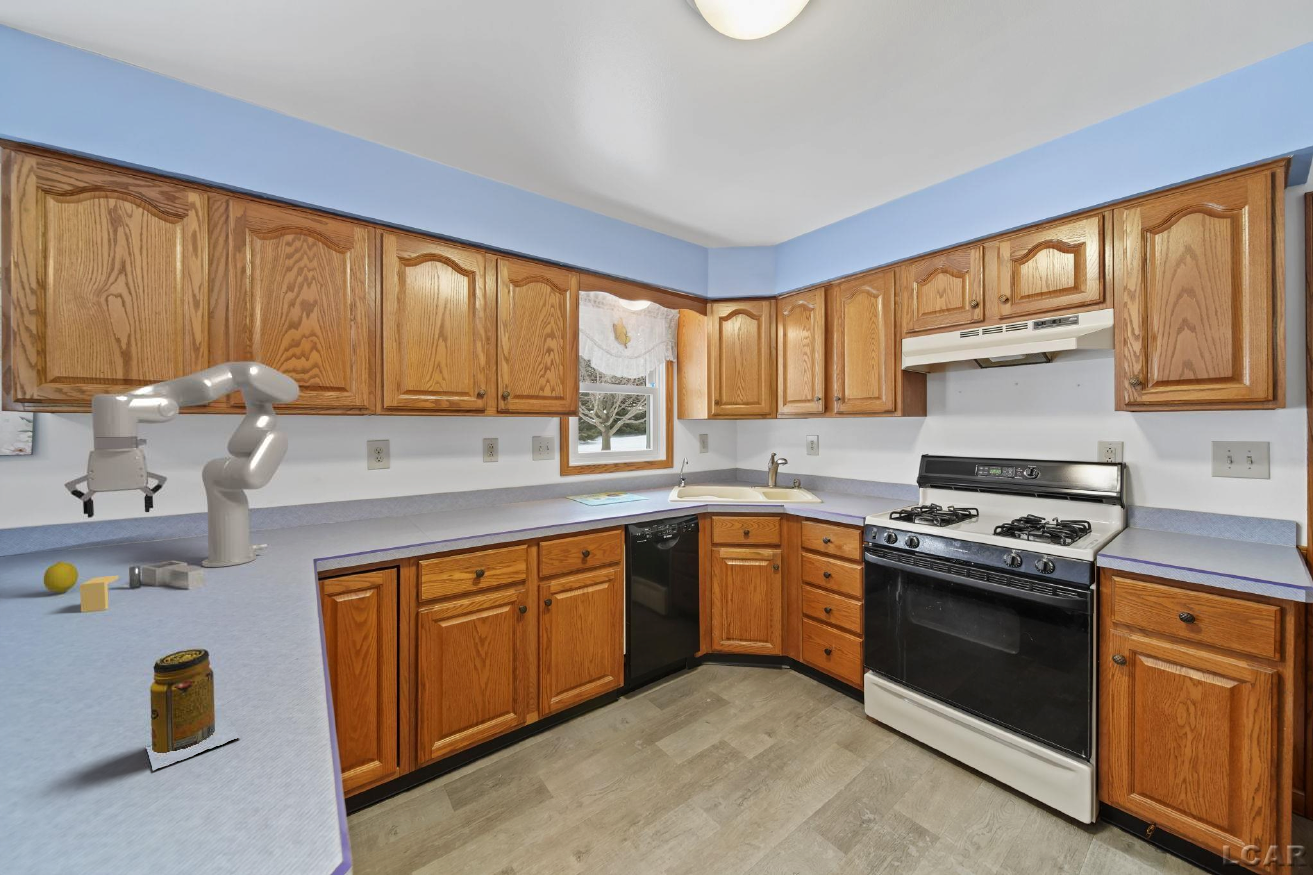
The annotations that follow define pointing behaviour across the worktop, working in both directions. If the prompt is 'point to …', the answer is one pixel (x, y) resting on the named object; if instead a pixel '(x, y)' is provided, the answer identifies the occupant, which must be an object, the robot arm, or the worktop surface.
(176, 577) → the link
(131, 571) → the cylinder
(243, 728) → the worktop surface
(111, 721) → the worktop surface
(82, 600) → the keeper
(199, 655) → the condiment
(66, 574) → the lemon
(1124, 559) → the worktop surface
